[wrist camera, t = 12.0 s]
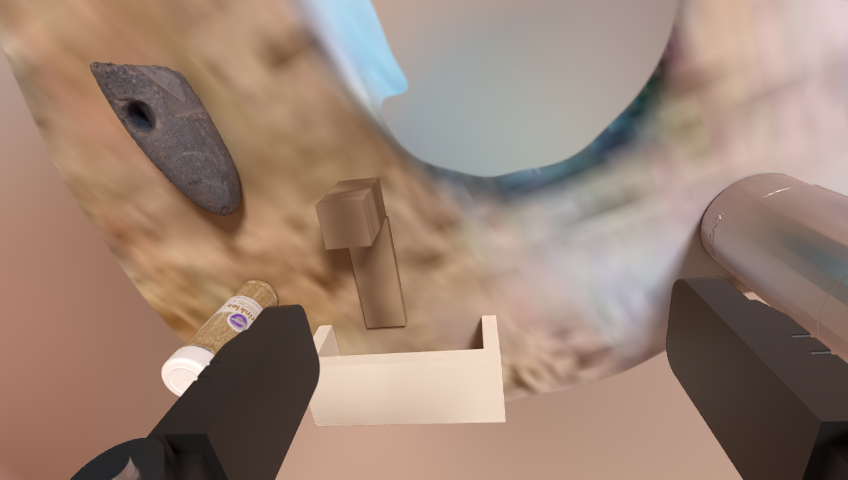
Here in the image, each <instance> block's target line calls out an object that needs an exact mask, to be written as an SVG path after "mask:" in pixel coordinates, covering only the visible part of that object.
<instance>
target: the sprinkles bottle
mask: <svg viewBox="0 0 848 480" xmlns="http://www.w3.org/2000/svg"><path fill="white" fill-rule="evenodd" d="M277 305H278V298H277V294H276V292H275V291H274V289H273V288H272V287H271V286H270V285H269V284H267V283H265V282H263V281H259V280H252V281H248V282H245V283H244V284H243V285H242V286H241V287H240V289H239V290H238V291H237V292H236V293H235V294H234V295H233V296H232V297H231V298H230V299H229V300H228V301H227V302H226V303H225V304H224V305H223V306H222V307H221V308H220V309H219V310H218V311H217V312H216V313H215V314H214V315H213V316H212V317H211V318H210V319H209V320H208V321H207V322H206V323H205V324H204V325H203V327H202V328H201V329H200V330H199V331H198V333H197V334H195V336H194V337H193V338H192V339H191V340H190V341H189V342H188V343H187V344H186V345H185V346H184V347H182V348H180V349H178V350H177V351H176V352H175V353H174V354H173V355H172V356H171V357H170V358H169V359H168V360H167V362H166V363H165V364H164V366H163V368H162V379H163V381H164V383H165V385H166V386H167V387H168V388H169V389H170V390H171V391H172V392H173V393H174V394H176V395H178V396H179V397H181V395H182V394H183V393H184V392H185V391H186V389H187V388H188V387H189V386H190V385H191V383H192V382H193V381H194V380H197V376H198V375H199V374H200V373H201V371H202V370H203V369H204V368H205V367H206V365H209V364H210V361H211V359H212V358H213V357H214V356H215V355H216V353H217V352H218V351H219V350H220V349H221V347H222V346H223V345H224V344H225V343H227V342H228V341H229V340H231V339H232V338H234V337H235V336H236V335H238V334H239V333H240V332H242V331H243V330H246V329H248V328H249V326H250V325H251V324H252V323H253V321H254V320H255V319H256V318H257V316H258V315H259V314H260V312H261V311H262V310H263V309H264V308H265V307H268V306H277Z"/></svg>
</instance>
